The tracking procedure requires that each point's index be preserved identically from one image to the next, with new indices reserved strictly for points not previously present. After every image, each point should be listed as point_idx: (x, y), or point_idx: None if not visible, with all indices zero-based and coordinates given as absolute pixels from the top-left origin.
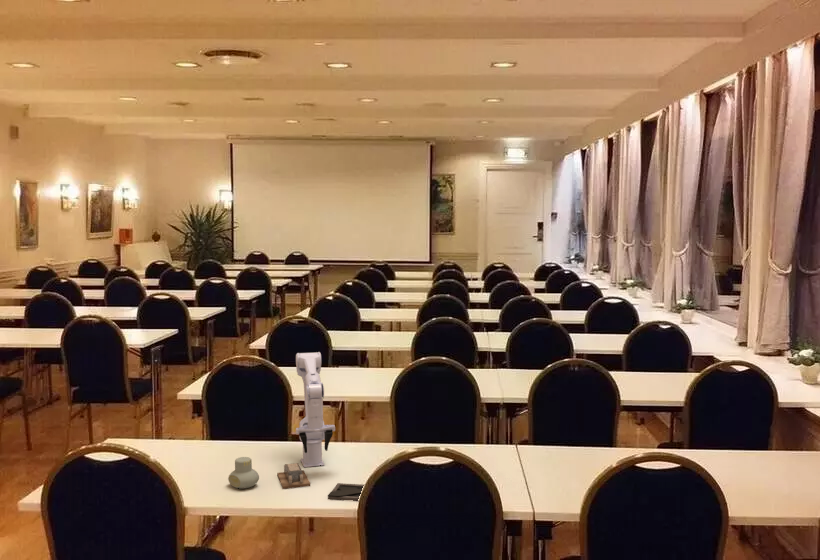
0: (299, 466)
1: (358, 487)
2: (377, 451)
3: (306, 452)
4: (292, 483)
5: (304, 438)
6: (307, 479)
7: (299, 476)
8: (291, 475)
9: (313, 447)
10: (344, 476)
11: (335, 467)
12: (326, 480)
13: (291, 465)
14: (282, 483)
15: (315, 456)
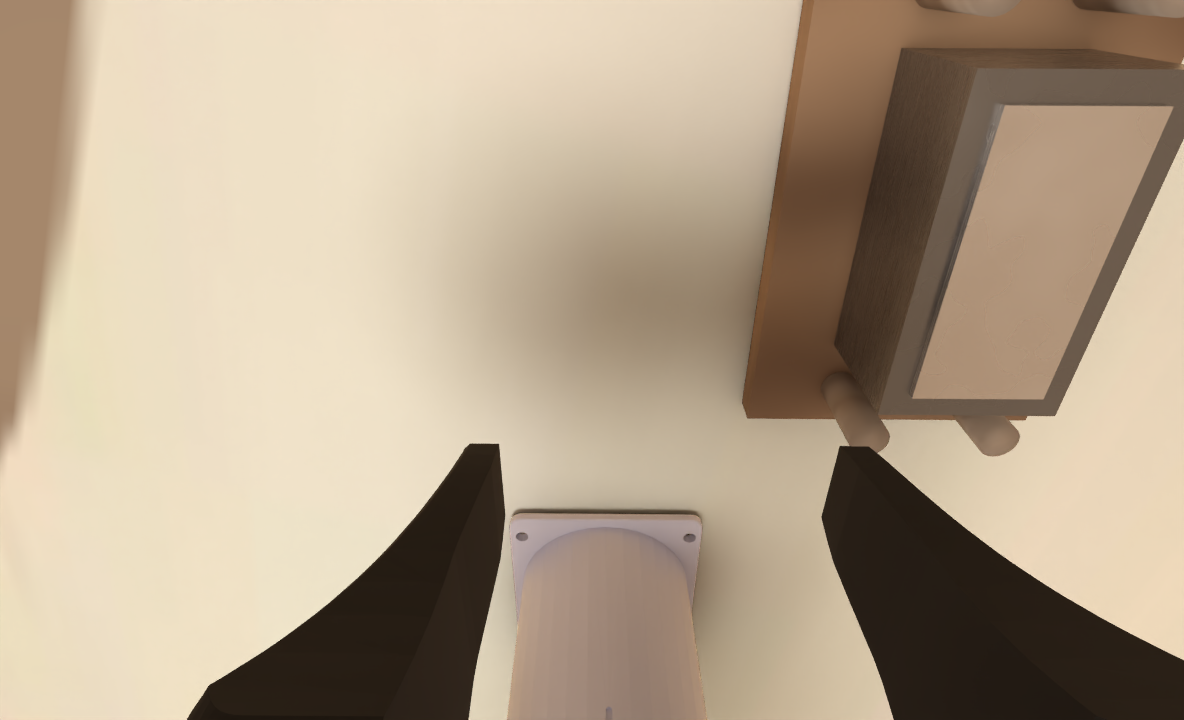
0: (922, 285)
1: None
2: (51, 664)
3: (852, 449)
4: (1055, 6)
5: (1125, 674)
6: (809, 106)
7: (976, 56)
8: (1118, 60)
9: (614, 687)
10: (322, 165)
11: (412, 447)
12: (557, 89)
13: (1015, 340)
14: (1173, 51)
15: (592, 593)
